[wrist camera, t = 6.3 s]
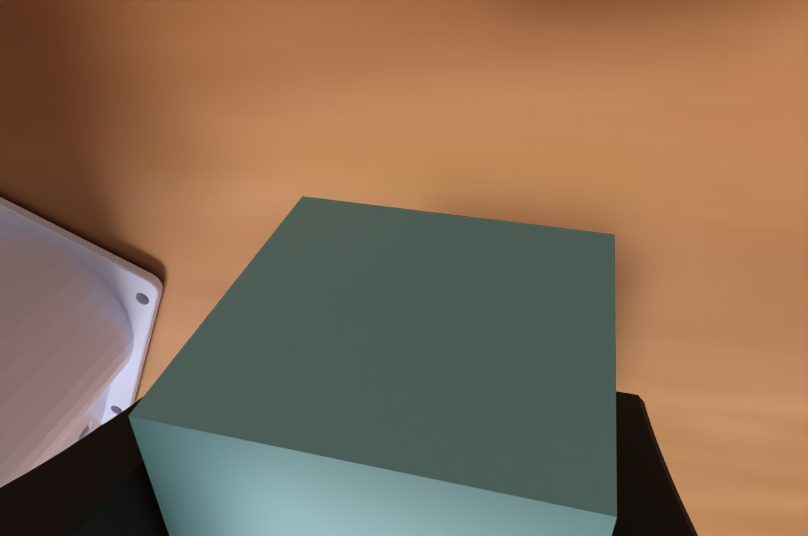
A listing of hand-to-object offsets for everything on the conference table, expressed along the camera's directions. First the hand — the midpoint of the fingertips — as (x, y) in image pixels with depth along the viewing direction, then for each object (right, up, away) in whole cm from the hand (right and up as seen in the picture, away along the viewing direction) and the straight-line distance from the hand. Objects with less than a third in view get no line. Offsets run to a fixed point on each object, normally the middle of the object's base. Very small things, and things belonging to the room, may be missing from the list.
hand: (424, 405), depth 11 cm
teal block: (0, +1, +1) cm, 2 cm away
